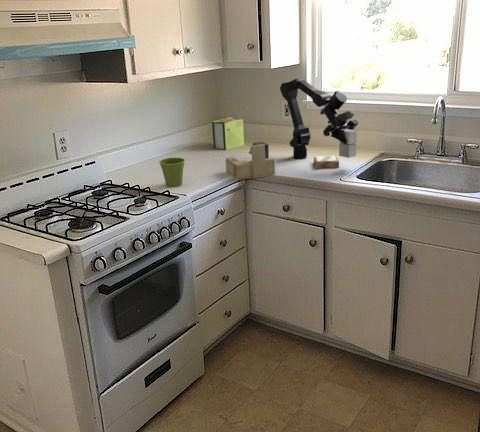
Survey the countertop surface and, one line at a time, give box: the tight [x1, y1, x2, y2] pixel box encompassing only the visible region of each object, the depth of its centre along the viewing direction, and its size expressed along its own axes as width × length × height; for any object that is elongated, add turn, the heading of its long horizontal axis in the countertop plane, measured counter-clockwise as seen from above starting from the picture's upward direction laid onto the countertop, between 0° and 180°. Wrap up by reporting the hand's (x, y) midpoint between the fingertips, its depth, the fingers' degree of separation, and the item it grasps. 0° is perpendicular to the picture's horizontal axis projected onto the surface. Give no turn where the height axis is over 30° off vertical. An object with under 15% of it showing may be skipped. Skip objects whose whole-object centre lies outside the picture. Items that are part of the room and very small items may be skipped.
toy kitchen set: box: [225, 144, 276, 181], centre depth 254 cm, size 18×17×15 cm
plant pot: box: [158, 157, 186, 188], centre depth 242 cm, size 12×12×11 cm
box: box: [252, 141, 270, 159], centre depth 270 cm, size 8×6×11 cm
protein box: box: [211, 117, 245, 151], centre depth 310 cm, size 10×15×16 cm
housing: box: [338, 129, 358, 159], centre depth 251 cm, size 6×5×12 cm
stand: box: [313, 155, 340, 169], centre depth 264 cm, size 11×11×3 cm
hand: (350, 142), depth 250 cm, fingers closed on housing, 5 cm apart
